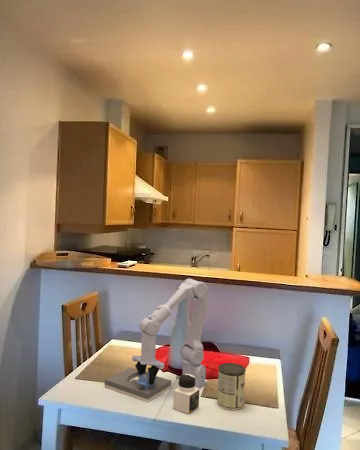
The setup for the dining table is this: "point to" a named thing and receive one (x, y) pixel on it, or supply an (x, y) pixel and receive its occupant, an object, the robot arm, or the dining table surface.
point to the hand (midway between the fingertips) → (147, 382)
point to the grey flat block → (136, 385)
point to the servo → (145, 381)
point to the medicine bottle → (186, 394)
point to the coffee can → (231, 386)
